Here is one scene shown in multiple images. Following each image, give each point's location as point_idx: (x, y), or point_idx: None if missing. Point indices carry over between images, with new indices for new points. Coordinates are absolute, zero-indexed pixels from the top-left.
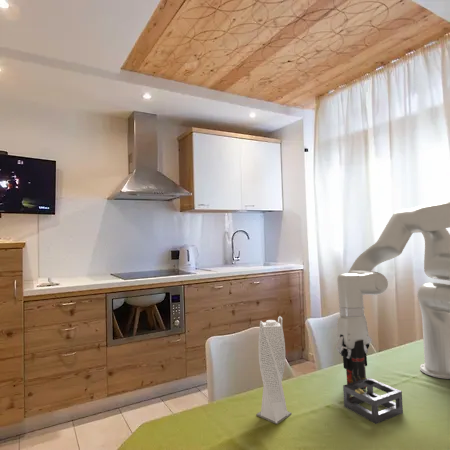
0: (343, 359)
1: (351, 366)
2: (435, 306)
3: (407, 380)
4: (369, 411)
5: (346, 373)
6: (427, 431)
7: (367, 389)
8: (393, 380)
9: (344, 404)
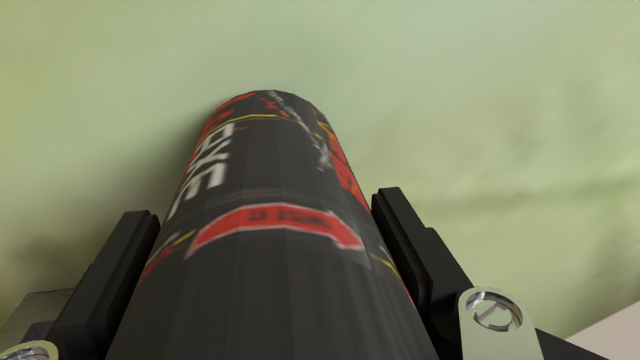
0: (52, 329)
1: None
2: None
3: (620, 188)
4: None
5: (189, 163)
6: None
7: None
8: (568, 155)
9: (21, 306)
